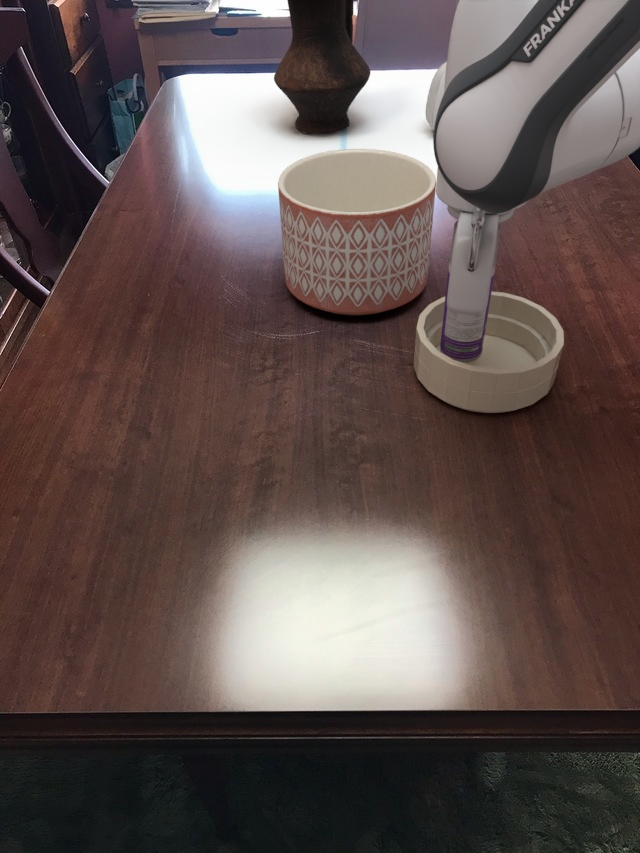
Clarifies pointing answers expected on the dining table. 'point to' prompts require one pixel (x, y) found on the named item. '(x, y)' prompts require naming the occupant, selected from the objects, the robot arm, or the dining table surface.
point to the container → (464, 325)
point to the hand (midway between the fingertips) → (468, 303)
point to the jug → (321, 65)
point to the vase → (435, 95)
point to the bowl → (493, 357)
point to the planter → (356, 229)
